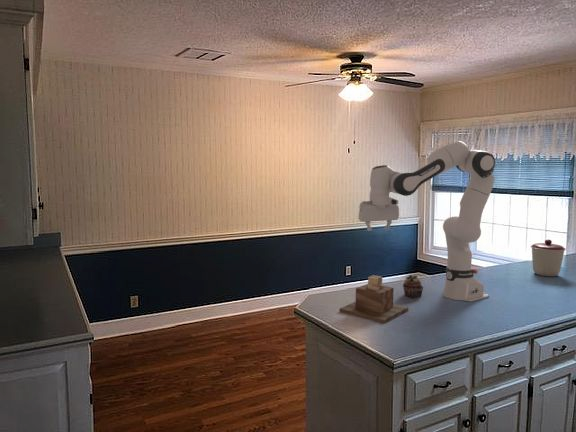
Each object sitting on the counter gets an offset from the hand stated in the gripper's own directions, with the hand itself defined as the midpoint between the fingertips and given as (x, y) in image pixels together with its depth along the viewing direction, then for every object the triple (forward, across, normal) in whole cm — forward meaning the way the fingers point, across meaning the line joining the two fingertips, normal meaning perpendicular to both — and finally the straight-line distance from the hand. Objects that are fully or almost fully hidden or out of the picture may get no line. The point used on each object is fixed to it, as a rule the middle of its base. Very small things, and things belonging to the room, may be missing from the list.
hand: (378, 230), depth 215 cm
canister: (+34, +124, +8) cm, 129 cm away
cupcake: (+34, +22, +1) cm, 41 cm away
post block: (+34, -9, -12) cm, 37 cm away
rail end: (+30, -9, -12) cm, 33 cm away
